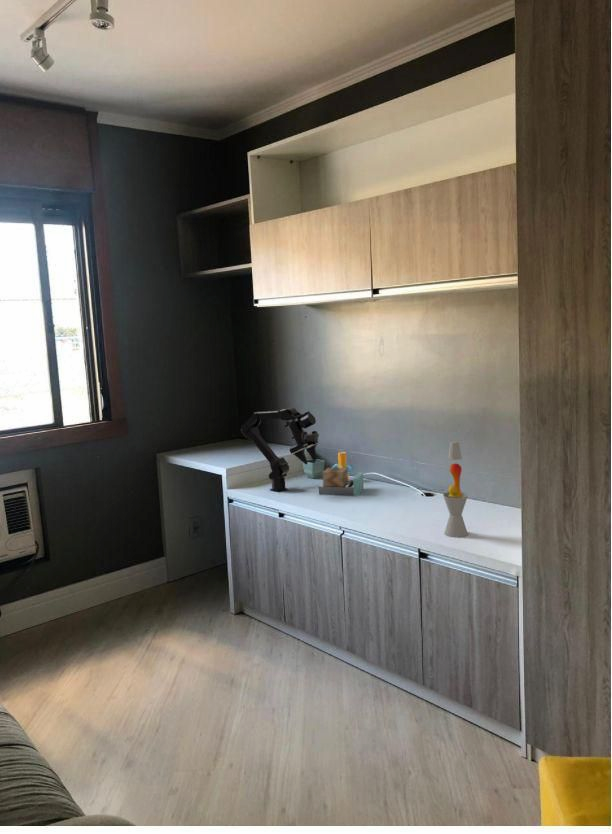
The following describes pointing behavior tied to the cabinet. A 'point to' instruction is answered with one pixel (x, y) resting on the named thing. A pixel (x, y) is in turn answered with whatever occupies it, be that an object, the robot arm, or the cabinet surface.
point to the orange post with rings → (343, 463)
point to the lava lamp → (455, 497)
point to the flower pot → (314, 468)
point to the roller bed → (338, 489)
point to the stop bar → (358, 483)
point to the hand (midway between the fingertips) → (311, 462)
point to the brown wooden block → (335, 477)
